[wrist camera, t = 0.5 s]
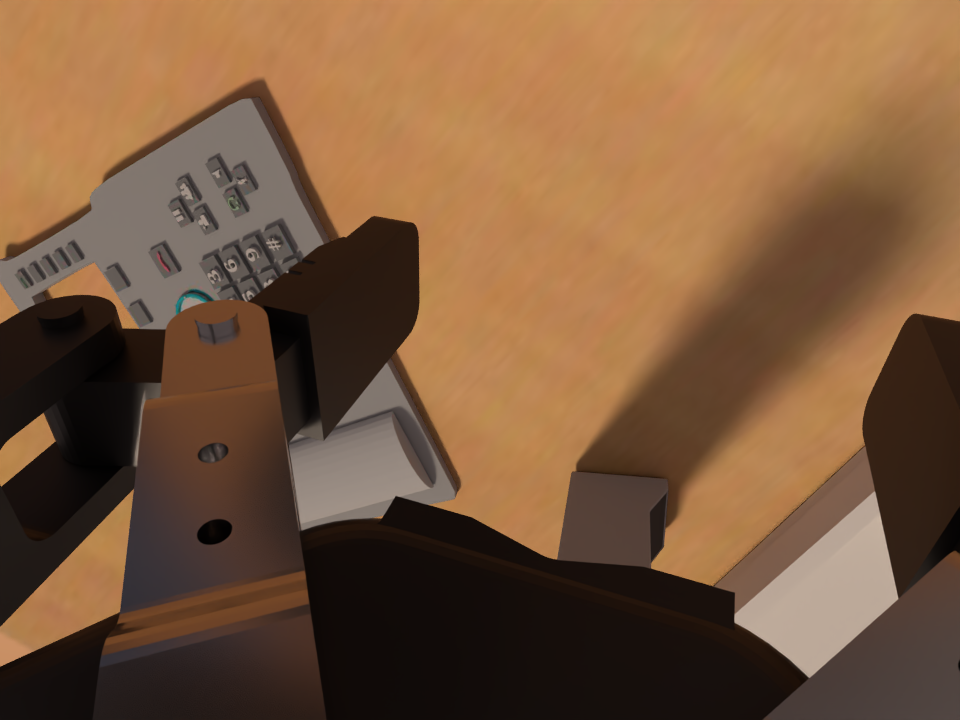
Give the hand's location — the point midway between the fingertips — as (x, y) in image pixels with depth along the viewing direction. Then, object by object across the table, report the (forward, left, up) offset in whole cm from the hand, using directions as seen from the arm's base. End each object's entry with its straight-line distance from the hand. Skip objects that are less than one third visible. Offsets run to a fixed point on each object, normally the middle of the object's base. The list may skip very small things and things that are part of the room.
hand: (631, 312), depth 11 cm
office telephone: (+8, -24, -20) cm, 32 cm away
